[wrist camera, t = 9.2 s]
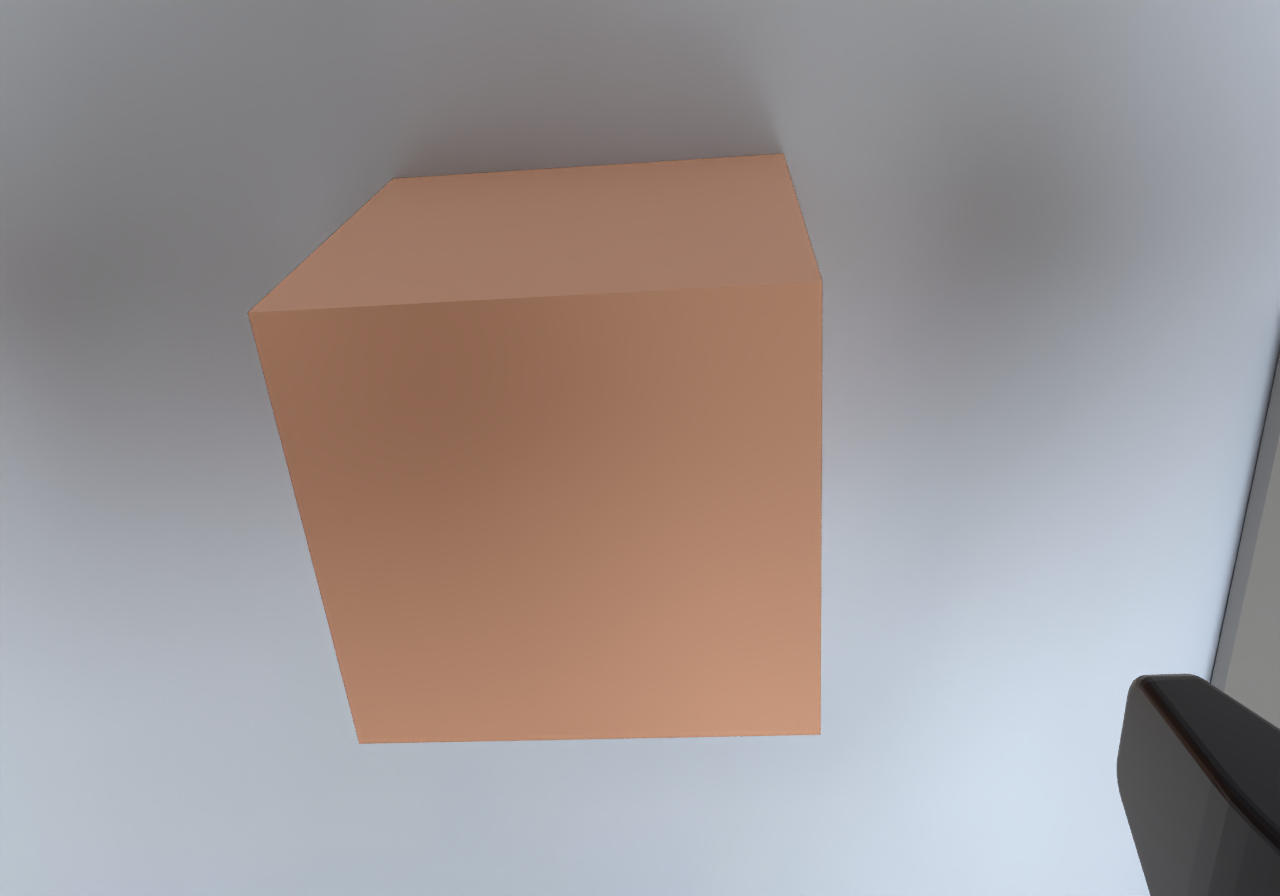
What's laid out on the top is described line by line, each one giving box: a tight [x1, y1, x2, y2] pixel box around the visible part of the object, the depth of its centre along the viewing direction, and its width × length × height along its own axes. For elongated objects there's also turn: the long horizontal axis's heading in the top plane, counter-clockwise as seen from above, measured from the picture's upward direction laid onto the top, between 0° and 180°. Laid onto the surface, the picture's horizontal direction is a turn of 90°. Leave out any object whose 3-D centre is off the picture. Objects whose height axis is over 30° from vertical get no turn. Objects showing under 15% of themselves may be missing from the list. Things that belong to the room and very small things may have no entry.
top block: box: [248, 153, 822, 744], centre depth 12 cm, size 5×5×5 cm
